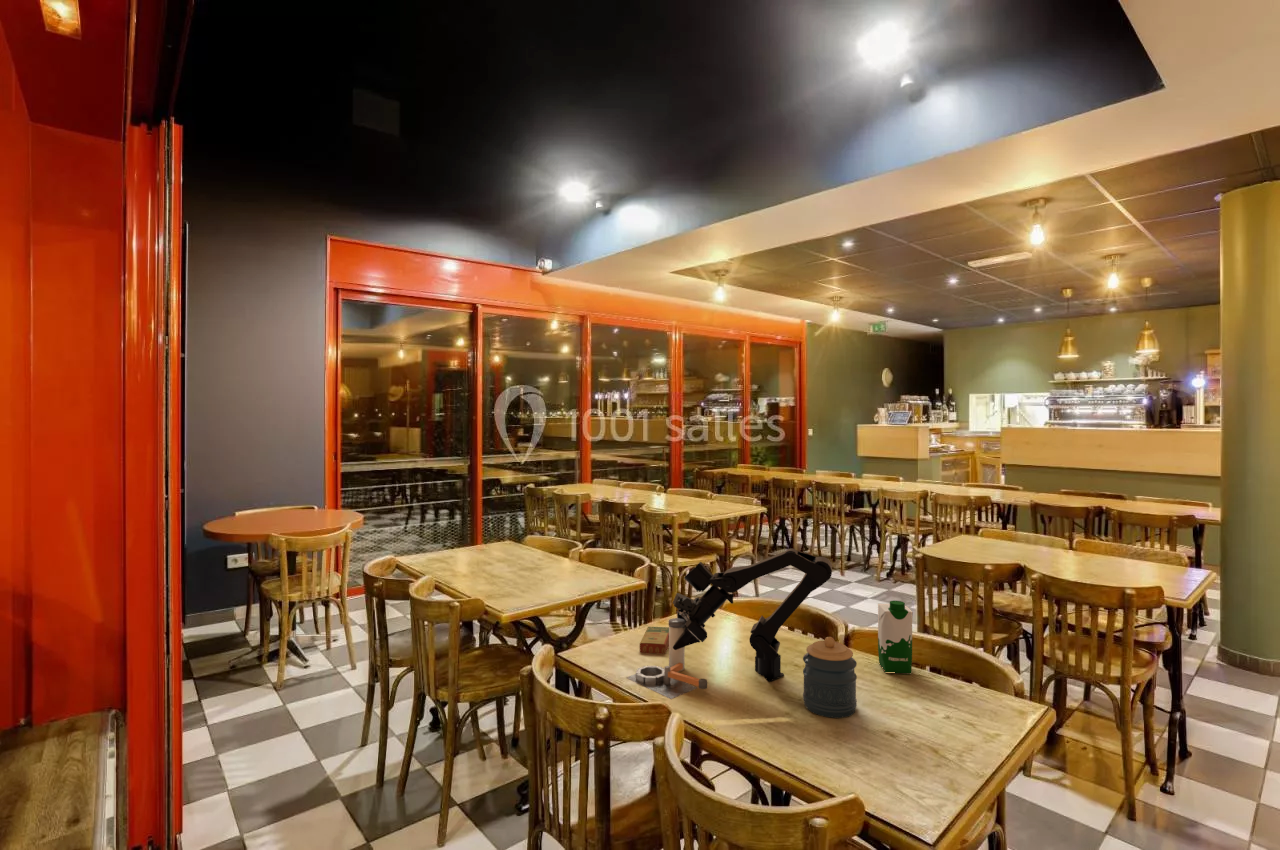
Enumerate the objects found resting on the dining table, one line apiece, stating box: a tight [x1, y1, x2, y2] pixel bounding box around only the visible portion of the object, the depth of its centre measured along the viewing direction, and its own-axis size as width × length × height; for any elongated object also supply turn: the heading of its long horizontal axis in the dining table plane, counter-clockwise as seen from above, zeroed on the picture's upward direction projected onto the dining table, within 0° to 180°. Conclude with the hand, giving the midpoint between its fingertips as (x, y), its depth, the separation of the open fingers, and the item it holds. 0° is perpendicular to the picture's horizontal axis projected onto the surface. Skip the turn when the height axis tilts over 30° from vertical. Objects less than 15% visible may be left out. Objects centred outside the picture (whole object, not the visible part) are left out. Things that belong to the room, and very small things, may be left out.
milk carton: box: [877, 600, 914, 674], centre depth 182 cm, size 9×9×20 cm
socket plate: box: [625, 665, 698, 700], centre depth 171 cm, size 18×10×3 cm, turn 41°
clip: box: [664, 663, 708, 690], centre depth 169 cm, size 13×8×4 cm, turn 52°
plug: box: [668, 617, 686, 673], centre depth 181 cm, size 5×5×14 cm
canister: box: [802, 636, 858, 719], centre depth 158 cm, size 13×13×18 cm
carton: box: [639, 626, 669, 655], centre depth 201 cm, size 8×16×4 cm, turn 170°
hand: (671, 643), depth 181 cm, fingers open, 9 cm apart
